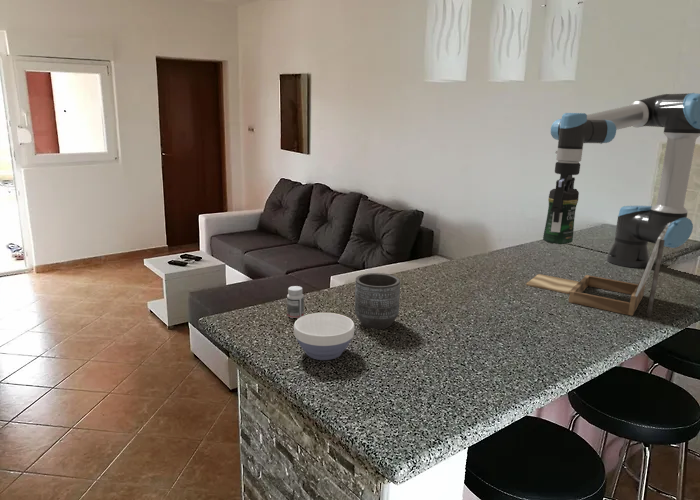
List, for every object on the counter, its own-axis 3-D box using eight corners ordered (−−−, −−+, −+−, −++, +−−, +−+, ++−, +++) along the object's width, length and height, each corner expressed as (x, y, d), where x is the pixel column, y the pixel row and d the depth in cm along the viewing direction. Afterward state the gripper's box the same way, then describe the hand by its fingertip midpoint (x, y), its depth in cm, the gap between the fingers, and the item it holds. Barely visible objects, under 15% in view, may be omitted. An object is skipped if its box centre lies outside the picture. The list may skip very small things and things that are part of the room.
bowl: (305, 371, 116) (305, 340, 114) (286, 345, 129) (286, 316, 127) (363, 360, 122) (364, 330, 120) (340, 336, 134) (340, 309, 132)
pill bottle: (296, 311, 150) (296, 284, 148) (307, 316, 147) (307, 288, 145) (283, 315, 147) (283, 287, 145) (294, 320, 144) (293, 292, 142)
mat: (538, 275, 188) (538, 273, 188) (578, 283, 180) (579, 281, 180) (525, 285, 177) (526, 283, 177) (568, 293, 170) (568, 292, 169)
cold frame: (584, 284, 179) (594, 217, 173) (658, 298, 167) (672, 226, 160) (568, 302, 162) (578, 227, 156) (649, 319, 149) (664, 239, 143)
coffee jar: (559, 246, 169) (567, 190, 164) (538, 241, 175) (545, 187, 171) (576, 242, 175) (584, 188, 170) (555, 238, 181) (562, 185, 176)
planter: (347, 318, 146) (348, 275, 143) (385, 312, 151) (387, 270, 147) (365, 335, 135) (367, 289, 132) (406, 328, 140) (408, 283, 137)
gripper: (565, 159, 179) (556, 222, 185) (546, 163, 162) (538, 233, 167) (588, 160, 174) (579, 225, 180) (571, 165, 157) (562, 236, 163)
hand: (559, 229), depth 174 cm, fingers closed on coffee jar, 9 cm apart
